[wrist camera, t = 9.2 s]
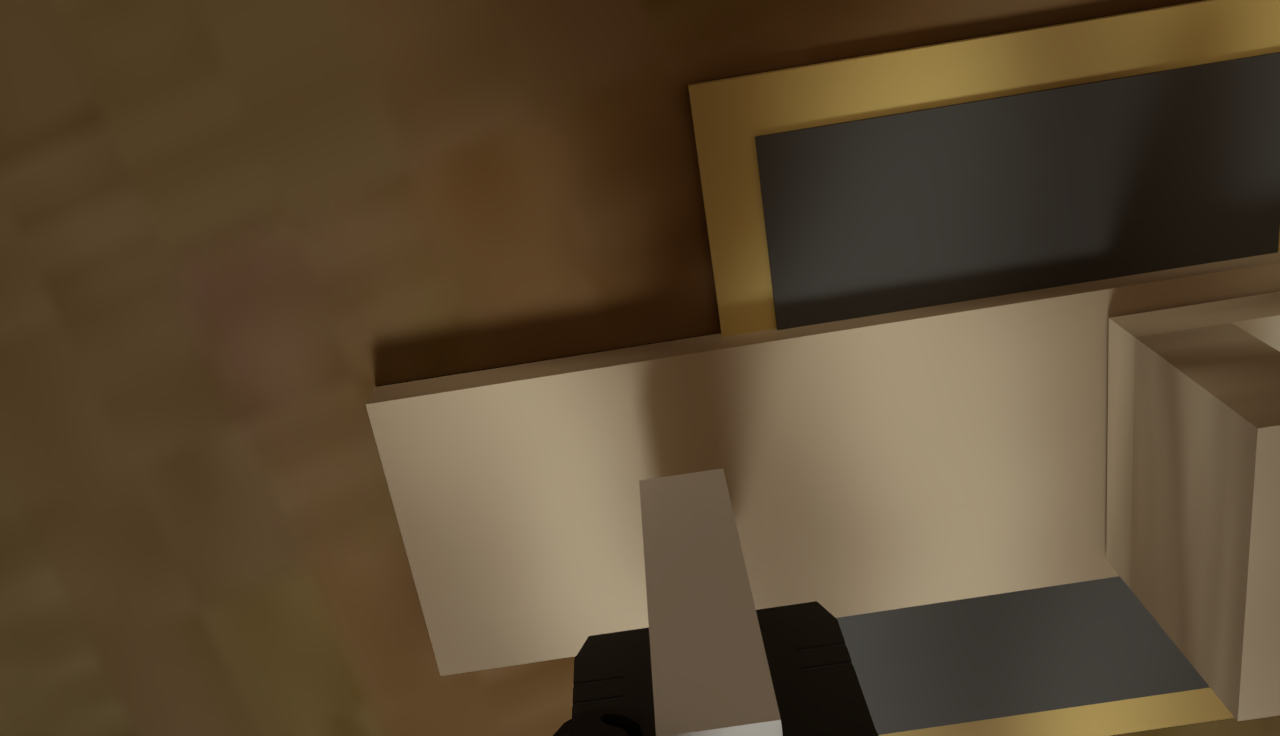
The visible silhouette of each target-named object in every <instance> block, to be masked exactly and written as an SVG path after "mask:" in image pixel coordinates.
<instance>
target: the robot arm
mask: <svg viewBox="0 0 1280 736" xmlns="http://www.w3.org/2000/svg"><path fill="white" fill-rule="evenodd" d="M639 485H640V501H641V516H642V531H643V546H644V561H645V577H646V592H647V607H648V622H649V627H648V628H641V629H634V630H627V631H620V632H613V633H606V634H599V635H592V636H588V638H587V640H586V641H585V643H584V644H583V646H582V648H581V649H580V651H579V653H578V654H577V656H576V657H575V660H574V687H573V707H572V719H570V720H569V721H567V722H565V723H564V724H563V725H562V726H561V727H560V728H559V730H558V731H557V732H556V733H555V734H554V735H553V736H879V735H878V733H877V732H876V729H875V726H874V723H873V721H872V718H871V715H870V712H869V709H868V706H867V703H866V701H865V698H864V695H863V692H862V689H861V686H860V683H859V680H858V678H857V675H856V672H855V669H854V666H853V665H852V660H851V657H850V655H849V652H848V649H847V646H846V644H845V640H844V637H843V634H842V632H841V629H840V626H839V623H838V620H837V619H836V618H835V617H834V616H833V615H832V614H831V613H830V612H828V611H827V610H826V609H825V608H824V607H823V606H822V605H820V604H819V603H818V602H817V601H815V602H808V603H801V604H793V605H786V606H779V607H772V608H765V609H758V610H756V609H755V605H754V600H753V596H752V592H751V587H750V583H749V579H748V574H747V570H746V565H745V561H744V557H743V552H742V548H741V544H740V539H739V535H738V531H737V526H736V522H735V518H734V513H733V509H732V504H731V500H730V496H729V491H728V487H727V483H726V478H725V474H724V470H723V468H722V469H715V470H708V471H701V472H694V473H687V474H681V475H674V476H667V477H660V478H653V479H646V480H639Z"/></svg>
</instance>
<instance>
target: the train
mask: <svg viewBox="0 0 1280 736" xmlns="http://www.w3.org/2000/svg"><path fill="white" fill-rule="evenodd" d="M1106 560H1107V561H1108V562H1109V564H1110V565H1111V566H1112V567H1113V569H1114V570H1115V571H1116V572H1117V573H1118V575H1119V576H1120V577H1121V578H1122V580H1123V581H1124V582H1125V583H1126V585H1127V586H1128V587H1129V588H1130V589H1131V591H1132V592H1133V593H1134V594H1135V596H1136V597H1137V598H1138V599H1139V601H1140V602H1141V603H1142V604H1143V605H1144V607H1145V608H1146V609H1147V610H1148V612H1149V613H1150V614H1151V615H1152V616H1153V618H1154V619H1155V620H1156V621H1157V623H1158V624H1159V625H1160V626H1161V628H1162V629H1163V630H1164V631H1165V632H1166V634H1167V635H1168V636H1169V637H1170V639H1171V640H1172V641H1173V642H1174V644H1175V645H1176V646H1177V647H1178V648H1179V650H1180V651H1181V652H1182V653H1183V655H1184V656H1185V657H1186V658H1187V660H1188V661H1189V662H1190V663H1191V664H1192V666H1193V667H1194V668H1195V669H1196V671H1197V672H1198V673H1199V674H1200V676H1201V677H1202V678H1203V679H1204V680H1205V682H1206V683H1207V684H1208V685H1209V687H1210V688H1211V689H1212V690H1213V692H1214V693H1215V694H1216V695H1217V696H1218V698H1219V699H1220V700H1221V701H1222V703H1223V704H1224V705H1225V706H1226V707H1227V709H1228V710H1229V711H1230V712H1231V714H1232V715H1233V716H1234V717H1235V719H1236V720H1237V721H1243V720H1250V719H1257V718H1264V717H1271V716H1278V715H1280V292H1273V293H1267V294H1260V295H1254V296H1247V297H1241V298H1235V299H1228V300H1222V301H1215V302H1209V303H1202V304H1196V305H1189V306H1183V307H1176V308H1170V309H1163V310H1157V311H1150V312H1144V313H1137V314H1131V315H1124V316H1118V317H1112V318H1109V343H1108V438H1107V534H1106Z"/></svg>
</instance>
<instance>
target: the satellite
mask: <svg viewBox="0 0 1280 736" xmlns="http://www.w3.org/2000/svg"><path fill="white" fill-rule="evenodd" d="M688 91H689V98H690V105H691V113H692V120H693V128H694V135H695V142H696V150H697V157H698V165H699V172H700V180H701V187H702V194H703V202H704V209H705V217H706V224H707V231H708V239H709V246H710V254H711V261H712V269H713V276H714V283H715V291H716V298H717V306H718V313H719V320H720V328H721V333H719V334H713V335H706V336H700V337H693V338H687V339H681V340H674V341H668V342H661V343H655V344H648V345H642V346H636V347H629V348H623V349H616V350H610V351H603V352H597V353H591V354H584V355H578V356H571V357H565V358H559V359H552V360H546V361H539V362H533V363H526V364H520V365H514V366H507V367H501V368H494V369H488V370H482V371H475V372H469V373H462V374H456V375H449V376H443V377H437V378H430V379H424V380H417V381H411V382H404V383H398V384H392V385H385V386H379V387H375V388H374V390H373V391H372V393H371V395H370V397H369V399H368V401H367V403H366V408H367V411H368V415H369V418H370V422H371V426H372V429H373V433H374V437H375V440H376V444H377V447H378V451H379V455H380V458H381V462H382V466H383V469H384V473H385V476H386V480H387V484H388V487H389V491H390V495H391V498H392V502H393V505H394V509H395V513H396V516H397V520H398V524H399V527H400V531H401V534H402V538H403V542H404V545H405V549H406V553H407V556H408V560H409V563H410V567H411V571H412V574H413V578H414V582H415V585H416V589H417V592H418V596H419V600H420V603H421V607H422V611H423V614H424V618H425V622H426V625H427V629H428V632H429V636H430V640H431V643H432V647H433V651H434V654H435V658H436V661H437V665H438V669H439V672H440V676H444V675H451V674H458V673H465V672H471V671H478V670H485V669H492V668H499V667H505V666H512V665H519V664H526V663H533V662H539V661H546V660H553V659H560V658H567V657H573V656H577V654H578V653H579V651H580V649H581V648H582V646H583V644H584V643H585V641H586V640H587V638H588V636H592V635H599V634H606V633H613V632H620V631H627V630H634V629H641V628H648V627H649V622H648V607H647V592H646V577H645V561H644V546H643V531H642V516H641V501H640V485H639V480H646V479H653V478H660V477H667V476H674V475H681V474H687V473H694V472H701V471H708V470H715V469H722V468H723V470H724V474H725V478H726V483H727V487H728V491H729V496H730V500H731V504H732V509H733V513H734V518H735V522H736V526H737V531H738V535H739V539H740V544H741V548H742V552H743V557H744V561H745V565H746V570H747V574H748V579H749V583H750V587H751V592H752V596H753V600H754V605H755V609H756V610H758V609H765V608H772V607H779V606H786V605H793V604H801V603H808V602H815V601H817V602H818V603H819V604H820V605H822V606H823V607H824V608H825V609H826V610H827V611H828V612H830V613H831V614H832V615H833V616H834V617H835V618H836V619H837V620H838V623H839V626H840V629H841V632H842V634H843V637H844V640H845V644H846V646H847V649H848V652H849V655H850V657H851V660H852V665H853V666H854V669H855V672H856V675H857V678H858V680H859V683H860V686H861V689H862V692H863V695H864V698H865V701H866V703H867V706H868V709H869V712H870V715H871V718H872V721H873V723H874V726H875V729H876V732H877V733H878V735H879V736H1109V735H1116V734H1123V733H1130V732H1137V731H1144V730H1151V729H1158V728H1165V727H1172V726H1179V725H1186V724H1193V723H1200V722H1207V721H1214V720H1221V719H1228V718H1235V717H1234V716H1233V715H1232V714H1231V712H1230V711H1229V710H1228V709H1227V707H1226V706H1225V705H1224V704H1223V703H1222V701H1221V700H1220V699H1219V698H1218V696H1217V695H1216V694H1215V693H1214V692H1213V690H1212V689H1211V688H1210V687H1209V685H1208V684H1207V683H1206V682H1205V680H1204V679H1203V678H1202V677H1201V676H1200V674H1199V673H1198V672H1197V671H1196V669H1195V668H1194V667H1193V666H1192V664H1191V663H1190V662H1189V661H1188V660H1187V658H1186V657H1185V656H1184V655H1183V653H1182V652H1181V651H1180V650H1179V648H1178V647H1177V646H1176V645H1175V644H1174V642H1173V641H1172V640H1171V639H1170V637H1169V636H1168V635H1167V634H1166V632H1165V631H1164V630H1163V629H1162V628H1161V626H1160V625H1159V624H1158V623H1157V621H1156V620H1155V619H1154V618H1153V616H1152V615H1151V614H1150V613H1149V612H1148V610H1147V609H1146V608H1145V607H1144V605H1143V604H1142V603H1141V602H1140V601H1139V599H1138V598H1137V597H1136V596H1135V594H1134V593H1133V592H1132V591H1131V589H1130V588H1129V587H1128V586H1127V585H1126V583H1125V582H1124V581H1123V580H1122V578H1121V577H1120V576H1119V575H1118V573H1117V572H1116V571H1115V570H1114V569H1113V567H1112V566H1111V565H1110V564H1109V562H1108V561H1107V560H1106V534H1107V438H1108V343H1109V318H1112V317H1118V316H1124V315H1131V314H1137V313H1144V312H1150V311H1157V310H1163V309H1170V308H1176V307H1183V306H1189V305H1196V304H1202V303H1209V302H1215V301H1222V300H1228V299H1235V298H1241V297H1247V296H1254V295H1260V294H1267V293H1273V292H1280V0H1204V1H1198V2H1192V3H1186V4H1179V5H1173V6H1167V7H1161V8H1155V9H1149V10H1143V11H1137V12H1130V13H1124V14H1118V15H1112V16H1106V17H1100V18H1094V19H1088V20H1081V21H1075V22H1069V23H1063V24H1057V25H1051V26H1045V27H1039V28H1032V29H1026V30H1020V31H1014V32H1008V33H1002V34H996V35H989V36H983V37H977V38H971V39H965V40H959V41H953V42H947V43H940V44H934V45H928V46H922V47H916V48H910V49H904V50H898V51H891V52H885V53H879V54H873V55H867V56H861V57H855V58H848V59H842V60H836V61H830V62H824V63H818V64H812V65H806V66H799V67H793V68H787V69H781V70H775V71H769V72H763V73H757V74H750V75H744V76H738V77H732V78H726V79H720V80H714V81H707V82H701V83H695V84H689V85H688Z"/></svg>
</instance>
